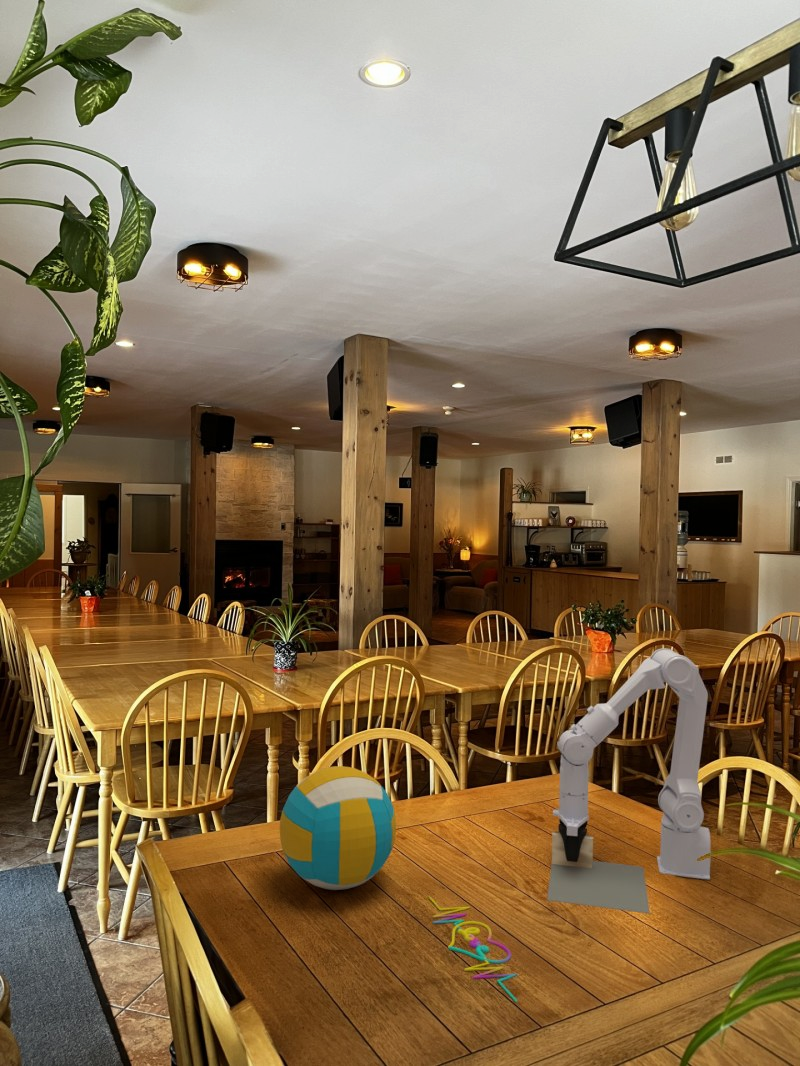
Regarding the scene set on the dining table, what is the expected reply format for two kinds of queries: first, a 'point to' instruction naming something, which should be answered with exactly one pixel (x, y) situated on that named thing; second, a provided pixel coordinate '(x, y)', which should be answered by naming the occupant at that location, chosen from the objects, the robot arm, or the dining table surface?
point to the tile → (584, 855)
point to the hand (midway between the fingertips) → (572, 858)
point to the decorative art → (474, 944)
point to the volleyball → (337, 828)
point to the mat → (600, 886)
